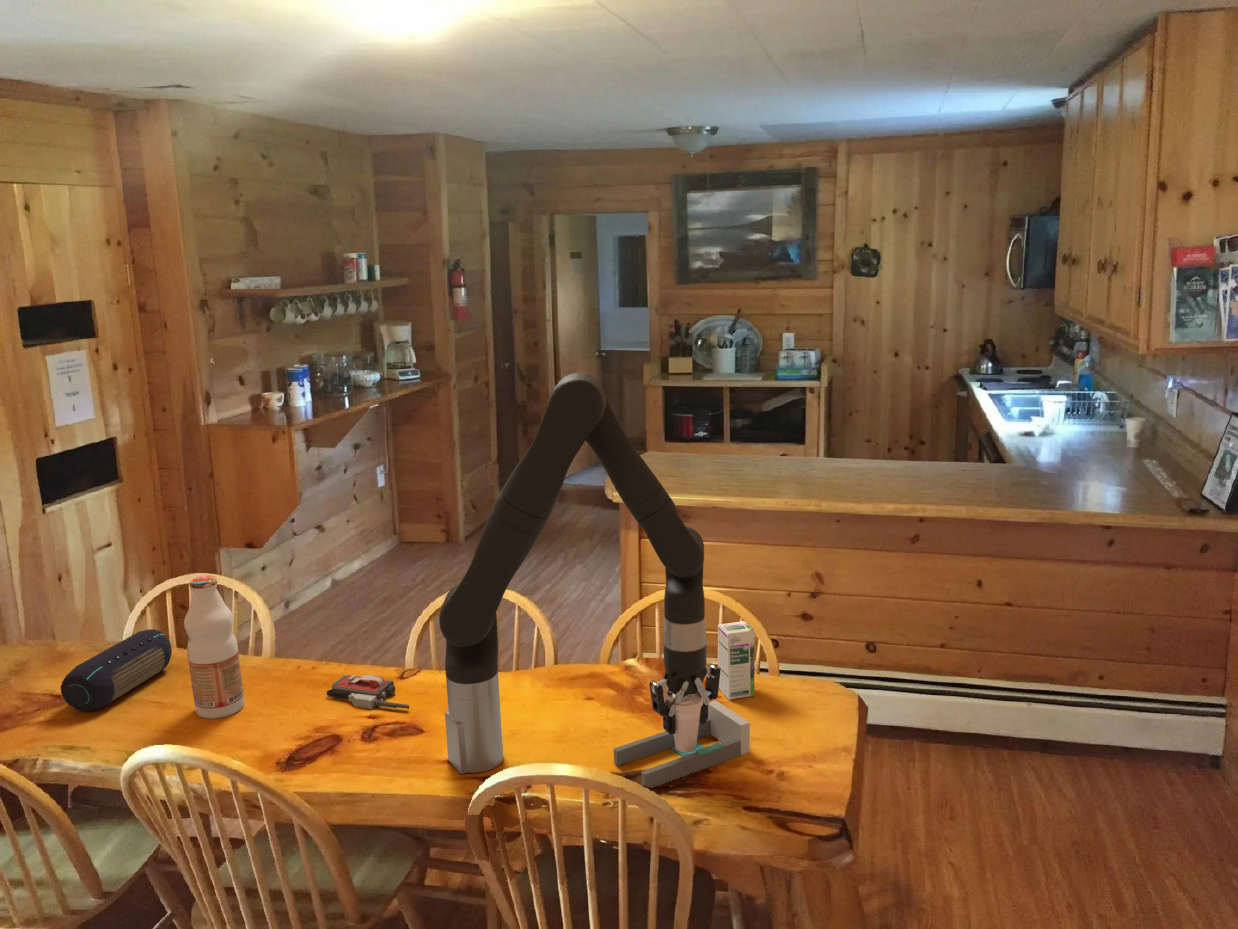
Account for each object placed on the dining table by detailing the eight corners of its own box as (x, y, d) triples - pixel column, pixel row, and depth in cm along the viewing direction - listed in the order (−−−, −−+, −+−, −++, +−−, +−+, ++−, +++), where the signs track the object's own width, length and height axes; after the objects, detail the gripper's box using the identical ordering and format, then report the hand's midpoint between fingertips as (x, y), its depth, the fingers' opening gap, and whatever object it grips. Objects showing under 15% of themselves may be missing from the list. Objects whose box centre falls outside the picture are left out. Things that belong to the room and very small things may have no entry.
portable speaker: (99, 720, 201) (91, 674, 199) (58, 715, 204) (50, 670, 202) (183, 667, 225) (177, 625, 222) (145, 663, 227) (139, 622, 225)
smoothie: (662, 751, 180) (660, 680, 176) (677, 735, 185) (675, 665, 182) (695, 759, 177) (693, 687, 173) (709, 742, 182) (708, 671, 179)
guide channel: (645, 790, 171) (644, 759, 170) (613, 763, 180) (612, 733, 179) (749, 752, 182) (750, 722, 181) (715, 728, 191) (715, 699, 190)
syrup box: (728, 700, 202) (728, 633, 198) (717, 688, 207) (717, 622, 204) (754, 696, 203) (755, 630, 200) (743, 684, 209) (743, 619, 205)
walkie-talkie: (320, 704, 206) (406, 716, 200) (318, 684, 205) (405, 695, 199) (344, 685, 214) (427, 696, 208) (342, 666, 213) (426, 677, 207)
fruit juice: (194, 723, 199) (176, 590, 192) (196, 703, 207) (178, 575, 201) (245, 714, 202) (228, 583, 195) (244, 694, 210) (228, 568, 204)
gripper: (662, 658, 169) (664, 748, 173) (730, 638, 176) (730, 725, 180) (638, 643, 176) (640, 730, 180) (705, 624, 183) (706, 708, 187)
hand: (686, 727), depth 180 cm, fingers closed on smoothie, 6 cm apart
